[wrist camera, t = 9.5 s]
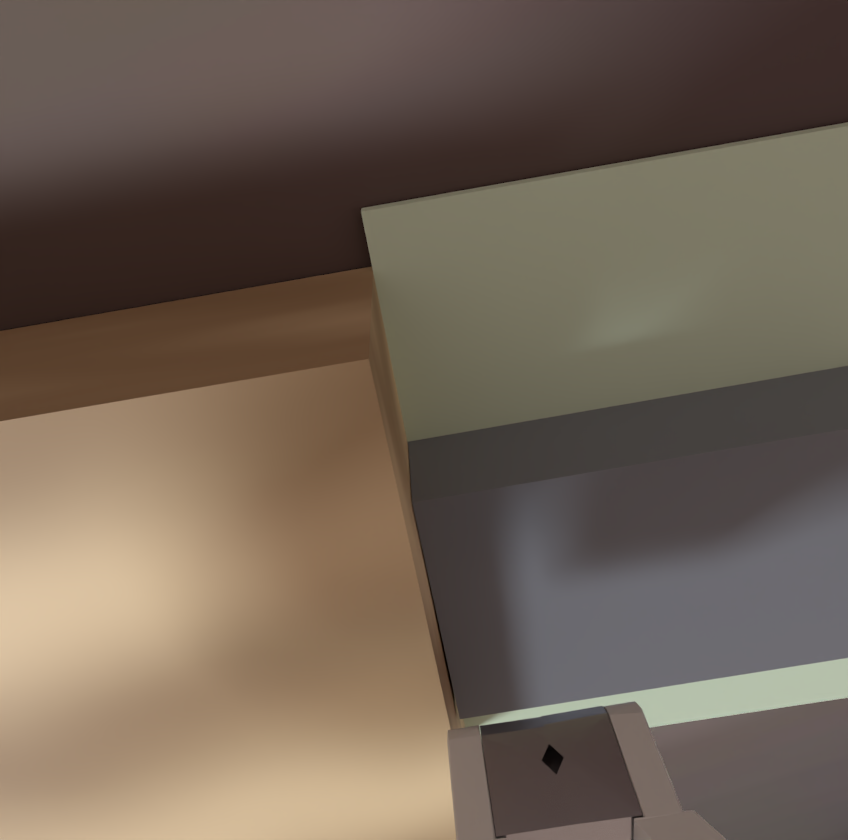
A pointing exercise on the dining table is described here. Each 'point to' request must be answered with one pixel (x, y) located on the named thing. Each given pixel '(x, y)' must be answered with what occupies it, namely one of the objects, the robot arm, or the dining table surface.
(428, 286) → the mat
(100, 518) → the square wooden plank
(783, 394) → the grey flat block
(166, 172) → the dining table surface
